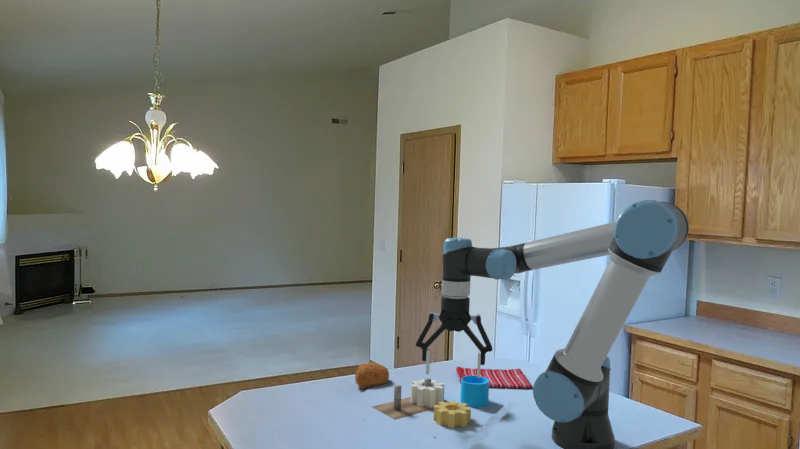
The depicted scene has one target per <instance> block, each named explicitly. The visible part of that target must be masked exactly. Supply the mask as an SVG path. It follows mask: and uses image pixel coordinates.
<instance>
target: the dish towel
mask: <svg viewBox="0 0 800 449" xmlns="http://www.w3.org/2000/svg"><path fill="white" fill-rule="evenodd" d="M455 370H456V373H457V374H458V378H460V379H459V383H460V385H461V378H462V377H464V376H477V368H471V367H461V366H456V368H455ZM480 376H481V377H485V378H487V379H488V380H489V389H505V388H507V389H508V390H509V389H510V390H513V389H514V390H532V389H533V385H532V384H531V383H530V381H529V380H528V378H527V376H526V375H525V374H524V372H523V371H522V369H521V368H510V369H499V368H498V369H496V368H495V369H493V368H480ZM507 389H506V390H507Z"/></svg>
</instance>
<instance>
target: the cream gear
mask: <svg viewBox="0 0 800 449" xmlns="http://www.w3.org/2000/svg"><path fill="white" fill-rule="evenodd" d="M424 379H425V378H423V379H419V380H418V381H417V380H413V381H412V382H411V384H410V397H411V398H410V402H411V403H416V404H417V406H419V407H423V406H429V407H430V408H432V407H434V405H438V402H442V401H443V402H444V400H445V383H444V382H439V381H438V380H436V379H431V387H425V386H424Z"/></svg>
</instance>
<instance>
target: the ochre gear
mask: <svg viewBox="0 0 800 449" xmlns="http://www.w3.org/2000/svg"><path fill="white" fill-rule="evenodd" d="M471 417H472V407H470V406H468V404H465V403H461V402H457V401H456V400H449V401H448V402H446V403H445V402H443V401H442V402H438V405H434V409H433V421H436V425H438V426H447V427H448V428H449V429H450V428H452V429H454V428H455V427H462V428H464V427H467V426H468V424H471V419H472V418H471Z"/></svg>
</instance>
